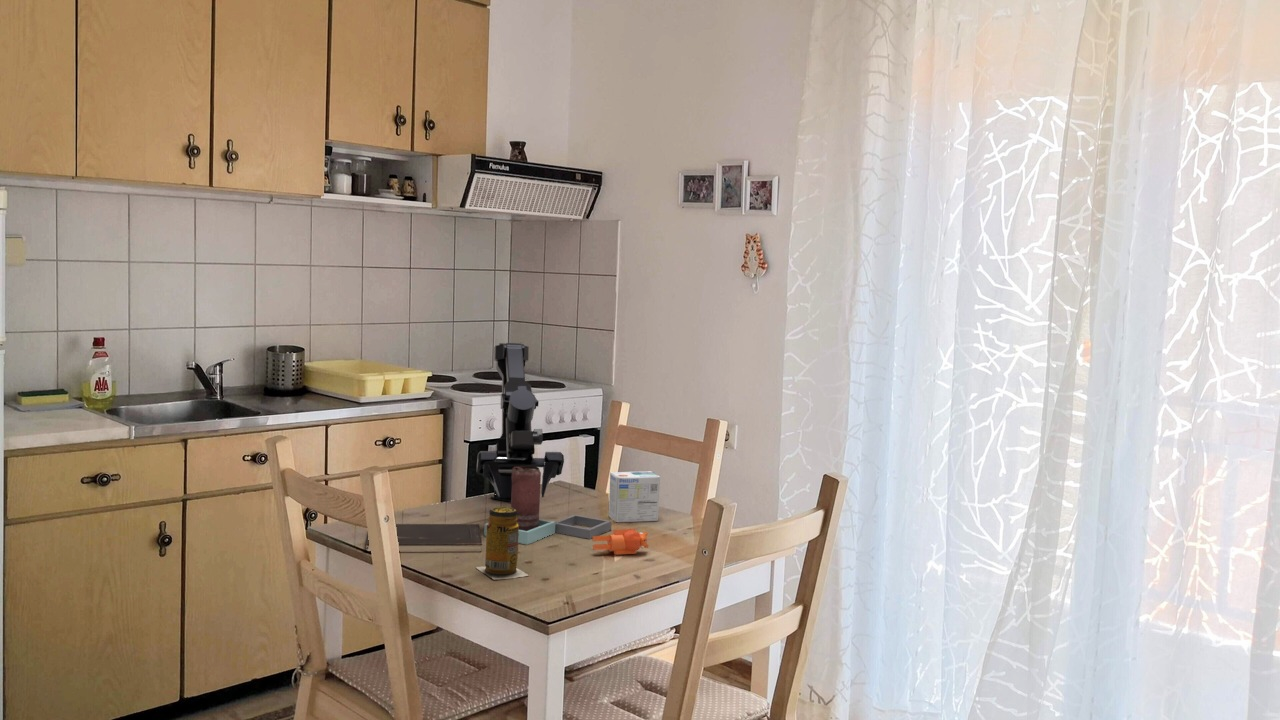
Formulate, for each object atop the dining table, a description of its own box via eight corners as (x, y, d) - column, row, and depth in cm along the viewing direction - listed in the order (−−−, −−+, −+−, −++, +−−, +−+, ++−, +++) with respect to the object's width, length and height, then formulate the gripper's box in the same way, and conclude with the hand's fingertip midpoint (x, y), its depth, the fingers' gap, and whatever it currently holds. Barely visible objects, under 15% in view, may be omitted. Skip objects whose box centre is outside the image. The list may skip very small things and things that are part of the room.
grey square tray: (551, 531, 225) (552, 523, 225) (574, 523, 234) (574, 514, 233) (589, 539, 221) (589, 530, 221) (610, 529, 229) (611, 521, 229)
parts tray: (484, 536, 219) (484, 524, 219) (513, 525, 229) (513, 514, 228) (527, 544, 214) (527, 532, 214) (555, 533, 224) (555, 521, 224)
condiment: (510, 564, 200) (512, 504, 199) (529, 576, 193) (531, 514, 192) (475, 568, 196) (477, 507, 195) (493, 581, 189) (495, 517, 188)
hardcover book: (481, 554, 207) (482, 543, 207) (364, 555, 203) (364, 544, 203) (478, 533, 223) (479, 523, 223) (369, 533, 218) (370, 523, 218)
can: (511, 526, 225) (513, 464, 224) (540, 528, 225) (542, 466, 224) (506, 534, 219) (509, 469, 218) (536, 535, 219) (538, 471, 218)
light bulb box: (649, 514, 245) (652, 470, 244) (659, 521, 239) (661, 476, 238) (607, 515, 242) (609, 471, 241) (615, 523, 236) (617, 477, 235)
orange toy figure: (596, 529, 207) (652, 527, 211) (586, 531, 214) (641, 530, 218) (597, 554, 206) (653, 552, 210) (587, 556, 213) (642, 554, 217)
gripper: (479, 414, 222) (480, 475, 212) (564, 416, 226) (569, 476, 216) (476, 443, 230) (477, 503, 221) (558, 444, 234) (562, 503, 225)
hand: (521, 496), depth 220 cm, fingers open, 9 cm apart
